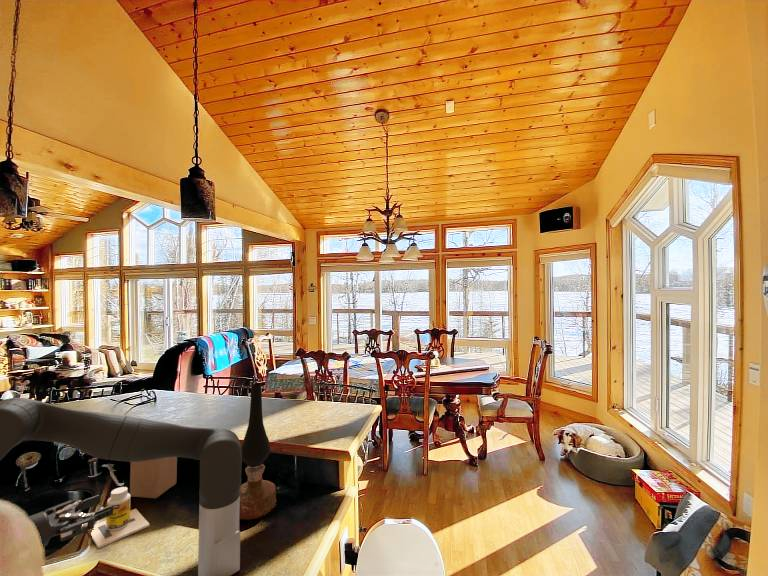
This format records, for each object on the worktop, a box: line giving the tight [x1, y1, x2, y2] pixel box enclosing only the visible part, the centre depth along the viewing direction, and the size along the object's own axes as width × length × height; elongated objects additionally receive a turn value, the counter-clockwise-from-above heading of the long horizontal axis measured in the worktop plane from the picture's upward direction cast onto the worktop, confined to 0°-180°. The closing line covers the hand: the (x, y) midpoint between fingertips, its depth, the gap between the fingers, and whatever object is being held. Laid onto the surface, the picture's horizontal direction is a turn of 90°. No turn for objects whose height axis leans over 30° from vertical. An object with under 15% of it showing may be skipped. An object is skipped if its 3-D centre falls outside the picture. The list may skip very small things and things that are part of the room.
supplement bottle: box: [105, 486, 131, 531], centre depth 103 cm, size 6×6×10 cm
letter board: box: [90, 508, 150, 549], centre depth 103 cm, size 12×12×1 cm
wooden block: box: [129, 457, 178, 499], centre depth 123 cm, size 10×10×20 cm
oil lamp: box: [239, 383, 277, 520], centre depth 117 cm, size 14×15×40 cm
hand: (106, 503), depth 91 cm, fingers open, 8 cm apart
